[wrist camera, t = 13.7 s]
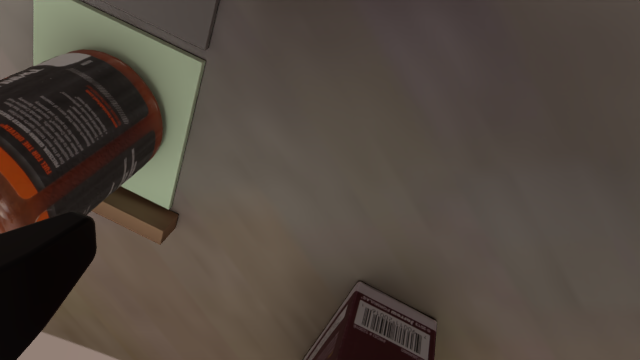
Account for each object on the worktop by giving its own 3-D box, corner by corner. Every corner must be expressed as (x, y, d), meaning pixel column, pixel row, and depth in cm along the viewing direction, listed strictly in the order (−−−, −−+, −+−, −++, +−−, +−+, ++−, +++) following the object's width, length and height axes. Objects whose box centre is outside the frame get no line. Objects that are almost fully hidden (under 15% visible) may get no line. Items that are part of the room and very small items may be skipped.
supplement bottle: (58, 21, 21) (-279, 129, 12) (180, 81, 21) (-62, 240, 11) (53, 130, 24) (-210, 282, 15) (158, 183, 24) (-43, 369, 15)
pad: (38, -20, 20) (33, -19, 20) (205, 61, 20) (202, 63, 20) (37, 140, 25) (33, 143, 25) (171, 206, 25) (168, 209, 25)
